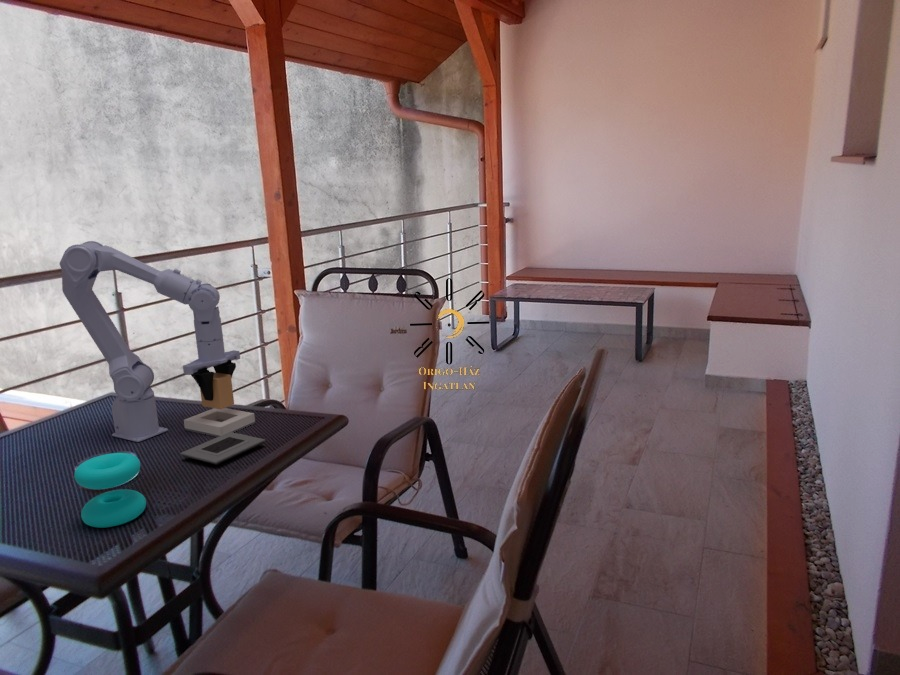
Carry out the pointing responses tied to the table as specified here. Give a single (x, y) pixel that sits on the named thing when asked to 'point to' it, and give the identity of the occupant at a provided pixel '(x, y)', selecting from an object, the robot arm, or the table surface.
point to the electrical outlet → (222, 448)
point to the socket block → (219, 421)
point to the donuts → (114, 503)
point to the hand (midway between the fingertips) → (216, 397)
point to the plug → (220, 392)
